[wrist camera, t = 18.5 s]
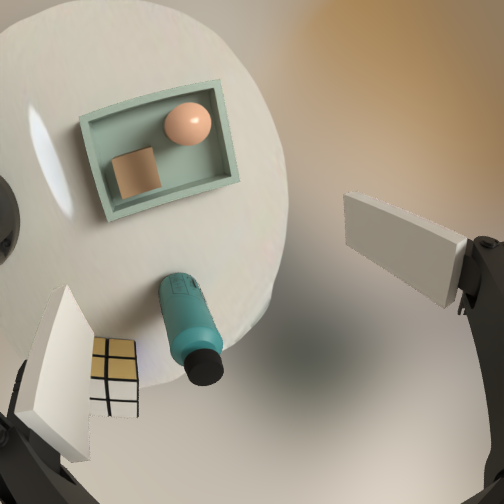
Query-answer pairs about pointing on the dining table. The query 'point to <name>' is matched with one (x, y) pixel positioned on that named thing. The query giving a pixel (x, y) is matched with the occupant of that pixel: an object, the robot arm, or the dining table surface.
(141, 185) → the walnut cube
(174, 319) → the beverage bottle
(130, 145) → the tray
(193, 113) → the peach rounded smooth part
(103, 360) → the puzzle cube
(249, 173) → the dining table surface
